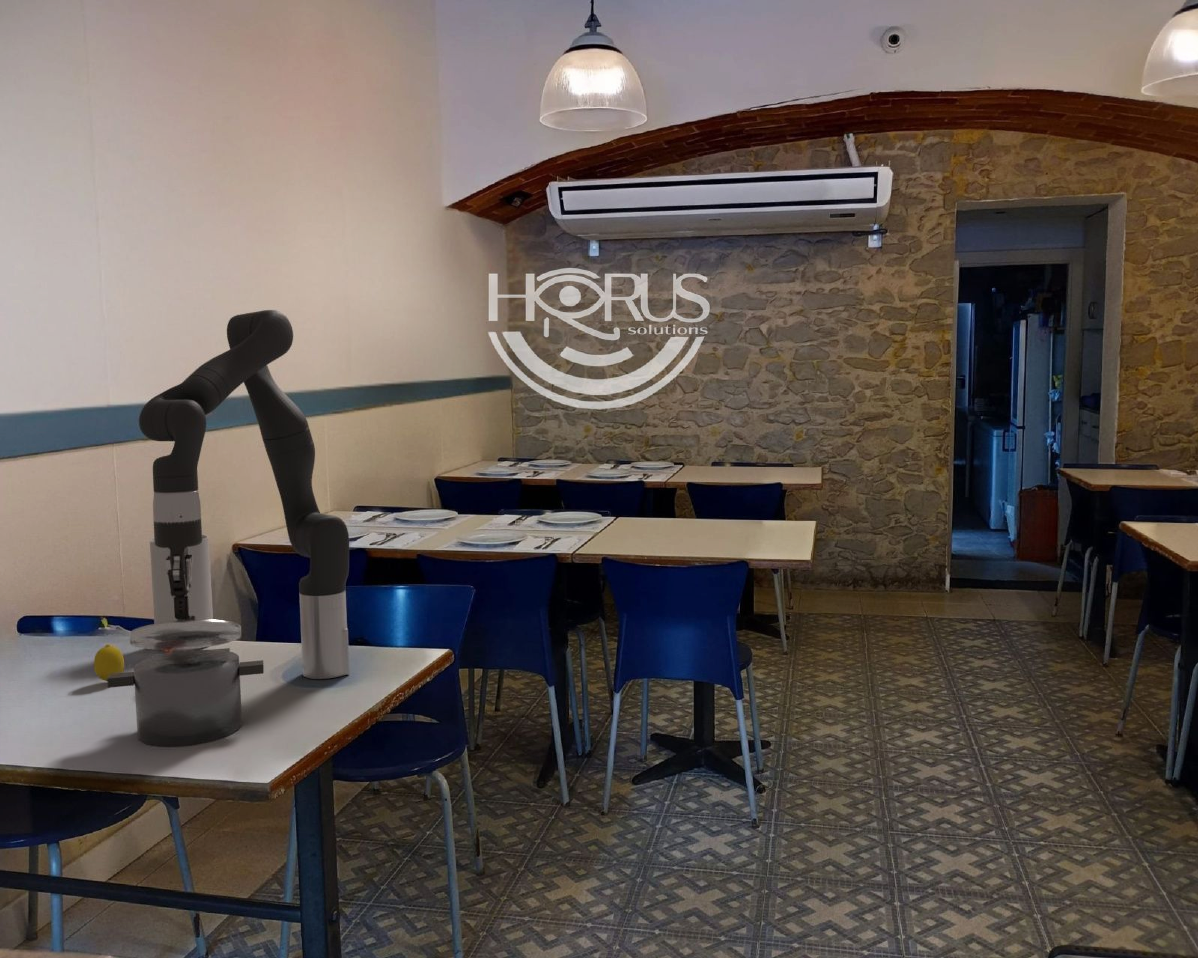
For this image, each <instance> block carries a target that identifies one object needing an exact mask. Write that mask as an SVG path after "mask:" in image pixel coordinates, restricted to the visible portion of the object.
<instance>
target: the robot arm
mask: <svg viewBox="0 0 1198 958" xmlns="http://www.w3.org/2000/svg"><path fill="white" fill-rule="evenodd" d="M226 337H227V343H228V346H229V350H226V351H224V352H222V353H221V354H218V355H216V356H214V357H212V358H211V359H209V360H207V361H205V362H204V363H203V364H201V365H200V366H199V367H198V368H196V369H195V370H194V371H193V372H192V373H191V374H189V375H188V377H186V378H185V379H184V380H183V382H181V383H179V384H176V385H175V386H172V387H170V388H169V389H166V390H164V391H163V392H161V393H159V394H156V396H154V397H152V398H151V399H150V400H148V402H146V403H145V405H144V406H143V407H142V409H141V411H140V413H139V415H138V416H139V417H138V424H139V425H138V426H139V429H140V432H141V433H142V434H143V435H144V437H146V438H147V439H149V440H151V441H155V442H174V444H173V448H172V450H171V452H170V454H168V455H167V454H166V455H163V456H160V457H157V458H156V459H154V461H153V464H152V482H153V483H152V485H153V499H152V515H153V516H152V519H153V537H154V541H155V545H156V546H157V547H160V548H169V549H170V556H168V558H166V568H167V569H168V572H167V574H168V581H169V584H170V590H171V591H170V593H171V596H173V598H174V613H175V618H176V619H187V618H188V616H189V597H188V595H189V593H190V590H189V589H190V587H191V584H190V581H191V579H192V568H191V565H192V563H193V556H192V554H191V555H188V547H191V546H196V545H199V544H201V542H202V535H203V531H202V530H203V529H202V528H203V527H202V507H201V505H202V504H201V499H200V492H199V479H198V478H199V475H198V465H199V459H200V456H201V451H202V446H203V442H204V439H205V436H206V435H205V434H206V429H207V418H206V416H207V415H209V414H211V413H213V412H214V411H215V410H216V409H218V407H219V406H220V405H221V404H222V403H223V402H224V401H225V400H226V399H227V398H228V397H229V396H230V395H231V394H232V393H233V392H234V391H235V390H236V389H238V388H239V387H240V386H241V385H242V384H244V386H245V388H246V391H247V394H248V396H249V400H250V402H251V404H252V408H253V411H254V414H255V418H256V421H257V424H258V427H259V430H260V434H261V439H262V441H263V446H264V448H265V451H266V454H267V457H268V461H269V463H270V467H271V469H272V473H273V476H274V479H275V483H276V487H277V489H278V493H279V498H280V500H281V505H282V510H283V514H284V521H285V526H286V529H287V530H286V531H287V534H288V540H289V542H290V544H291V546H292V547H291V548H293V550H294V551H295V552H296V553H297V554H299V556H302V557H304V558H310V559H309V561H310V562H309V572H308V574H307V575H304V576H302V577H301V578H300V580H299V582H298V591H299V592H298V593H299V613H300V614H299V615H300V639H301V640H300V641H301V642H300V643H301V645H300V646H301V668H302V676H303V677H305V678H307V679H311V680H323V679H325V680H326V679H332V678H333V679H334V678H338V677H342V676H346V675H348V676H349V675H350V674H351V673H350V659H349V658H350V652H349V649H350V648H349V629H348V622H347V621H348V620H347V596H346V594H347V593H346V589H347V587H346V583H347V580H348V577H349V575H350V574H349V573H350V535H349V530H348V527H347V524H346V523H345V521H344V520H343V519H342V518H341V517H338V516H337V515H334V514H333V515H332V514H324V513H322V512H320V509H319V507H318V504H317V501H316V498H315V495H314V491H313V490H314V489H313V474H314V470H315V469H314V468H315V460H316V447H315V443H314V440H313V436H312V432H311V429H310V425H309V422H308V420H307V417H306V416H305V414H304V413H303V411H302V410H301V409H300V408H299V407H298V405H297V404H296V403H295V402H294V401H292V399H291V398H289V396H288V395H287V394H286V393H285V392H284V391H283V390H282V389H281V388H280V387H279V386H278V384H277V383H276V382H275V380H274V378H273V376H272V373H271V372H270V368H269V367H268V365H269V364H271V363H272V362H274V361H276V360H277V359H279V358H281V357H282V356H284V355H285V354H287V353H288V352H289V350H290V349H291V347H292V345H293V341H294V330H293V326H292V324H291V321H290V319H289V318H288V317H287V315H285V314H284V313H283V312H281V311H278V310H275V309H266V310H264V309H263V310H259V311H253V312H245V313H240V314H236V315H233V316H232V317H230V319H229V320H228V323H227V327H226Z"/></svg>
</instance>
